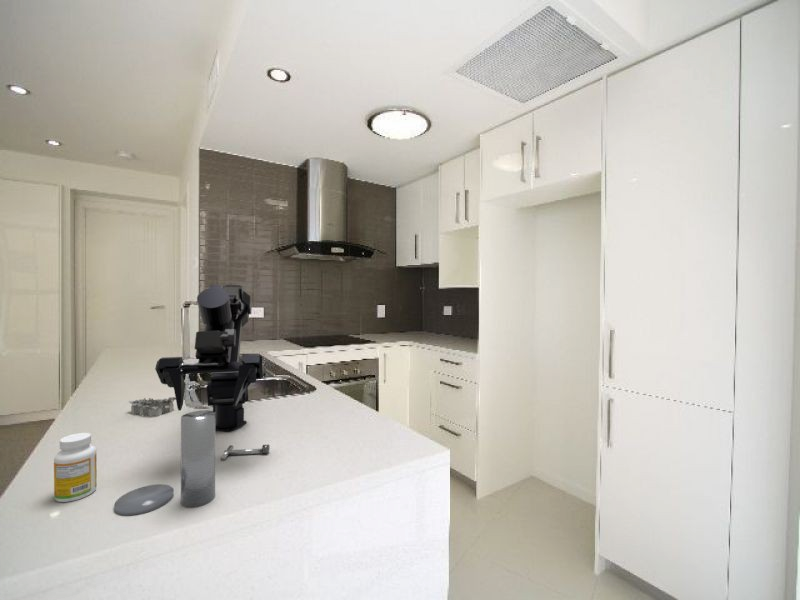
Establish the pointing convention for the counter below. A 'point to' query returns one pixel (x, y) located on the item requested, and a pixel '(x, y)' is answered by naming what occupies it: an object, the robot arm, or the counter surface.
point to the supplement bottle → (75, 468)
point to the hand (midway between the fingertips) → (207, 407)
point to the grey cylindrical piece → (197, 458)
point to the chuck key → (245, 451)
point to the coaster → (143, 499)
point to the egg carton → (152, 406)
